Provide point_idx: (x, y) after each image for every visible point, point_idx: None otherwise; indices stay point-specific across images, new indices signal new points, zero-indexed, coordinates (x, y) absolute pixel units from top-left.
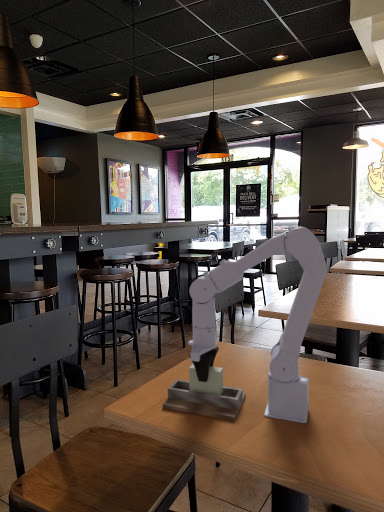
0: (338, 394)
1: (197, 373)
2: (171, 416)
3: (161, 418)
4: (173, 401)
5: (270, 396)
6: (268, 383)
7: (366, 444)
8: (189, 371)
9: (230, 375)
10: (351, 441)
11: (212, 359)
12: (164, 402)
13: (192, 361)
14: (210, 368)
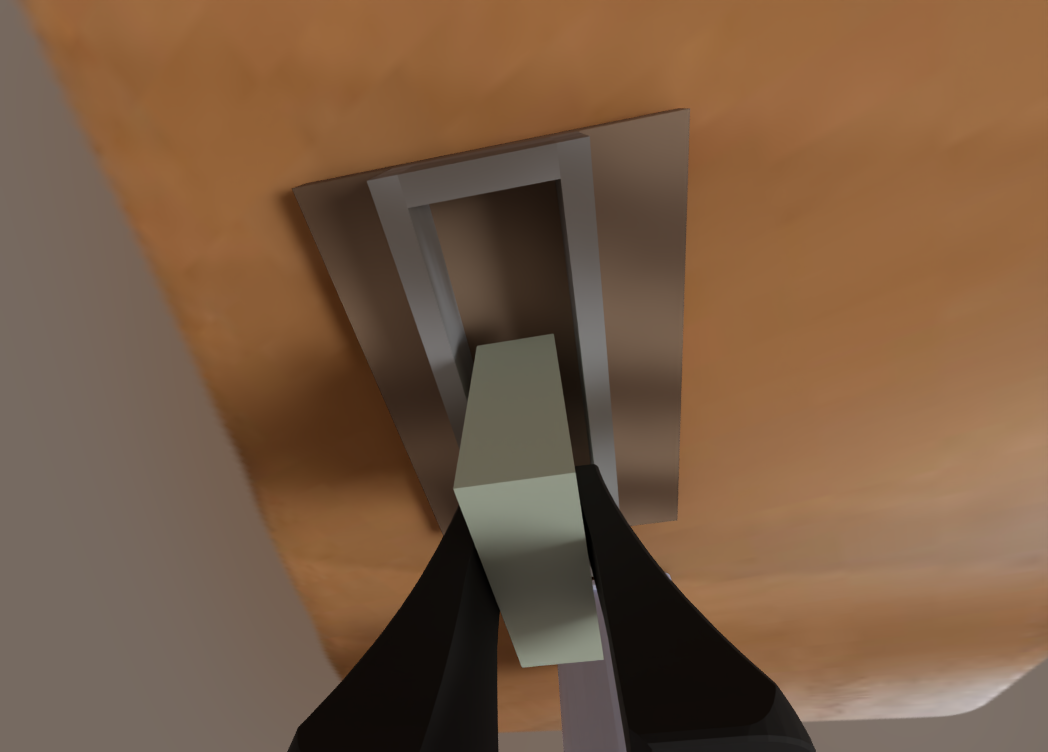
0: (780, 676)
1: (447, 538)
2: (289, 288)
3: (224, 246)
4: (380, 241)
5: (577, 668)
6: (607, 717)
7: (536, 721)
8: (459, 458)
9: (945, 357)
10: (532, 708)
11: (616, 689)
12: (322, 185)
13: (343, 685)
14: (548, 615)
